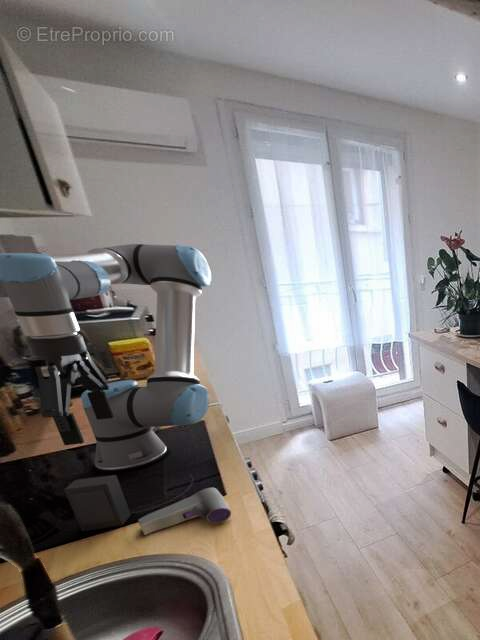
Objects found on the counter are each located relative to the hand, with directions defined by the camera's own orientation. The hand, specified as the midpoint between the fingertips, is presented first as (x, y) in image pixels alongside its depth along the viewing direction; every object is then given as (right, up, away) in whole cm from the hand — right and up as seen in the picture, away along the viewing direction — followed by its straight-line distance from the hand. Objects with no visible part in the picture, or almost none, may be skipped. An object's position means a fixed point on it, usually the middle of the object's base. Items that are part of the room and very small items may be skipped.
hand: (91, 430), depth 90 cm
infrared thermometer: (+17, -22, +5) cm, 29 cm away
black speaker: (-1, -22, +4) cm, 22 cm away
